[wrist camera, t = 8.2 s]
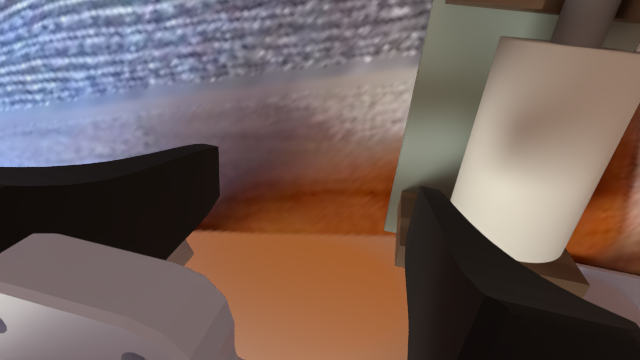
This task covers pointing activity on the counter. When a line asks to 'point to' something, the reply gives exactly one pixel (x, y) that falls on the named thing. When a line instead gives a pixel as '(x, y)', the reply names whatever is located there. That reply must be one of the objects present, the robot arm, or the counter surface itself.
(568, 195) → the paper roll
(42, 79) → the counter surface
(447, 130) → the roll holder
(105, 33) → the counter surface
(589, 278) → the robot arm
